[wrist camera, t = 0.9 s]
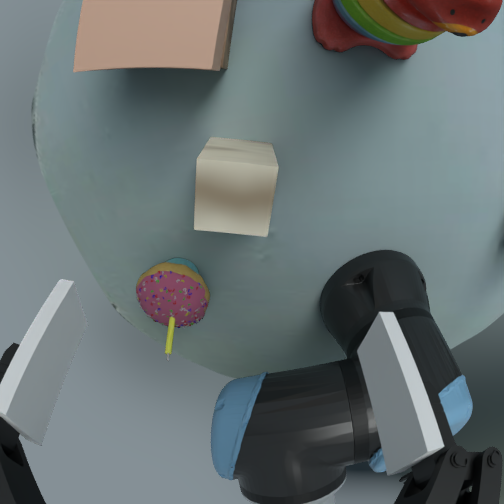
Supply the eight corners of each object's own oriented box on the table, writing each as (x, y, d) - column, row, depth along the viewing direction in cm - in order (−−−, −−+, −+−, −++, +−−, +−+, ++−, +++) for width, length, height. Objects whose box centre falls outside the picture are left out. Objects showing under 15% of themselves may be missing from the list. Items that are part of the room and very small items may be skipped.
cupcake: (222, 290, 38) (215, 368, 28) (165, 303, 40) (145, 375, 30) (196, 235, 34) (176, 310, 24) (135, 253, 35) (100, 324, 25)
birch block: (263, 198, 31) (267, 236, 25) (206, 192, 31) (193, 229, 24) (271, 143, 28) (278, 166, 21) (210, 137, 28) (196, 158, 21)
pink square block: (219, 71, 20) (211, 69, 16) (103, 69, 19) (73, 72, 15) (239, -36, 14) (236, -60, 10) (120, -31, 14) (95, -47, 9)
